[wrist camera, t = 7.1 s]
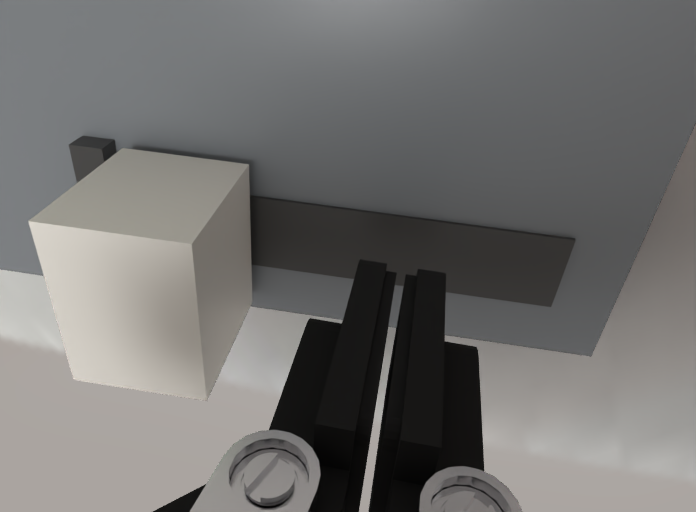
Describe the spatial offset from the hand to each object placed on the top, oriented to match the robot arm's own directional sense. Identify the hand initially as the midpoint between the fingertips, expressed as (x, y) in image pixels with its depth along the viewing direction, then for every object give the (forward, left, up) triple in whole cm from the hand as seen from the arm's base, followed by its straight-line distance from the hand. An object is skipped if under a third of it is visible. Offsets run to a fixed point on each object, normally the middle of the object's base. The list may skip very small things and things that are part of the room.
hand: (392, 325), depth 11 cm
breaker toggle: (+5, 0, -3) cm, 6 cm away
